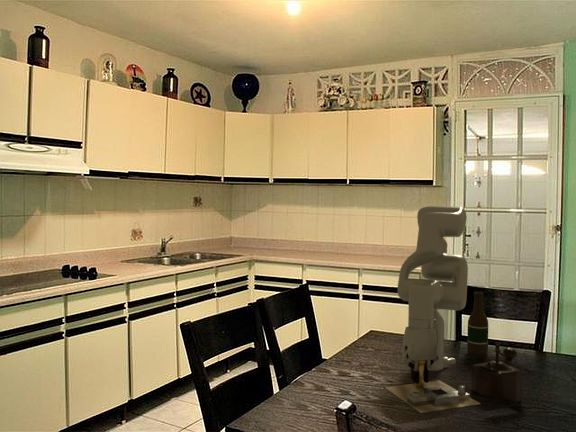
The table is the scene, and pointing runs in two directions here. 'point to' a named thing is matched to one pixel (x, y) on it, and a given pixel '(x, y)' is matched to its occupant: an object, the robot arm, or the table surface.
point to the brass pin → (421, 374)
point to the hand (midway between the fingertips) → (419, 381)
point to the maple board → (409, 388)
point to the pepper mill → (498, 377)
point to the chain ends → (437, 396)
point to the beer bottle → (477, 328)
